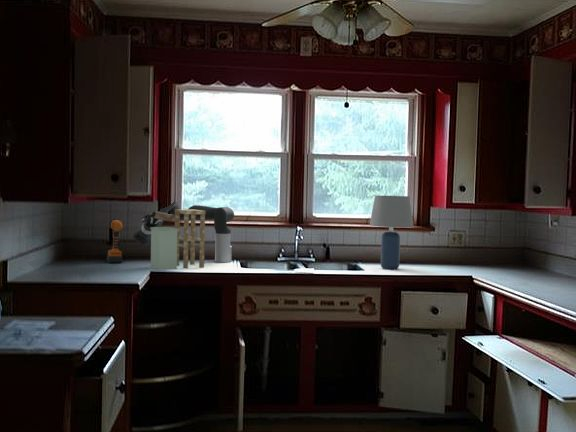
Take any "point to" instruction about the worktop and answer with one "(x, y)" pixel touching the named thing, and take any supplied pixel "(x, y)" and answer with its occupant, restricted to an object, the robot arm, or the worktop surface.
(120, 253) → the power drill
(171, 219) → the tan cardboard block
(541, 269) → the worktop surface
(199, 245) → the stool
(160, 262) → the pale green block
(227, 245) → the robot arm
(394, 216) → the lamp
